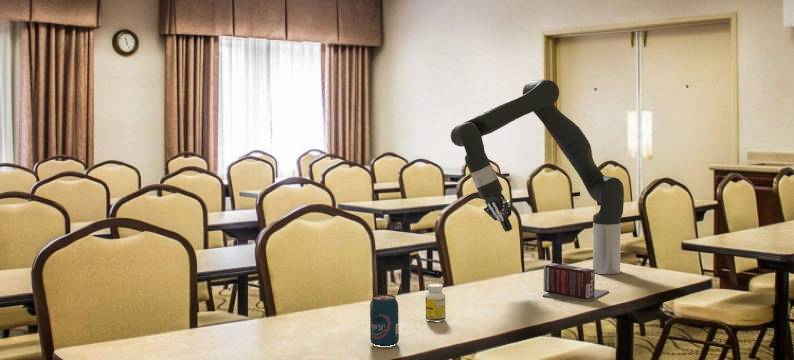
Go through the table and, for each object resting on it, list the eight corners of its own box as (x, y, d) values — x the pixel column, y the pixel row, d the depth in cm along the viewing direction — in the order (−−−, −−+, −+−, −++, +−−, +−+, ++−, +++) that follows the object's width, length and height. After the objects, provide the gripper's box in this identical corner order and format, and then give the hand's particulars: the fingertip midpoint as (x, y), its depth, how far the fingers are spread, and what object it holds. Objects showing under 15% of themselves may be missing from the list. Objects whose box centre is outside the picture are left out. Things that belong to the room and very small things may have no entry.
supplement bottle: (422, 319, 247) (422, 284, 246) (440, 317, 249) (439, 282, 248) (430, 323, 242) (430, 287, 241) (449, 321, 244) (448, 285, 243)
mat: (563, 287, 287) (563, 285, 287) (608, 292, 279) (608, 290, 279) (542, 296, 274) (542, 295, 274) (589, 302, 266) (589, 300, 265)
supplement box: (552, 289, 282) (595, 297, 270) (542, 291, 278) (585, 300, 267) (552, 262, 281) (595, 269, 269) (543, 264, 278) (586, 271, 266)
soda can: (366, 347, 219) (365, 298, 218) (376, 340, 226) (376, 293, 225) (392, 349, 217) (392, 300, 216) (402, 342, 223) (402, 295, 222)
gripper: (507, 173, 283) (529, 223, 284) (482, 180, 294) (504, 228, 295) (490, 182, 279) (513, 233, 280) (466, 189, 290) (488, 237, 291)
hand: (508, 230), depth 288 cm, fingers closed
